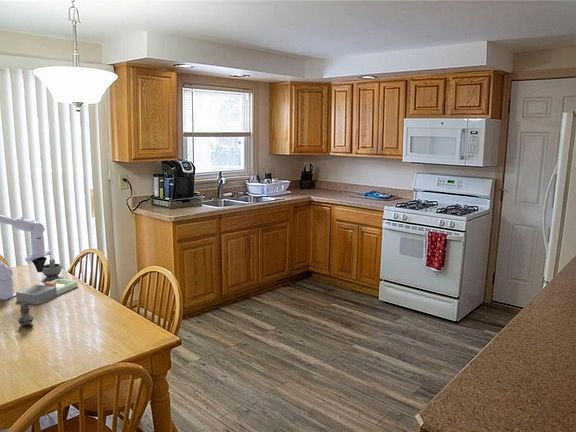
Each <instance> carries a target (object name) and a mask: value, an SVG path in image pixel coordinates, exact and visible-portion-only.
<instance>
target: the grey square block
mask: <svg viewBox="0 0 576 432" xmlns="http://www.w3.org/2000/svg"><path fill="white" fill-rule="evenodd" d="M15 293H16V296H15V297H16V302H19V303H21V302H22V301H23V300H25V301H27V302H28V304H32V305H40V304H41V303H44V302H47V301H48V300H50V299H53V298H55V297H57V296H56V287H51V286H44V284H34V285H31V286H29V287H26V288H24V289H21V290H18V291H16V292H15Z"/></svg>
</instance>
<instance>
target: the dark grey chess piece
mask: <svg viewBox="0 0 576 432" xmlns="http://www.w3.org/2000/svg"><path fill="white" fill-rule="evenodd" d="M19 303H20V310H19V312H20V317H18V318H17V322H18V324H19V325H20V326H19V327H18V329H19V330H27V329H31V328H33V327H34V324H33V321H34V316H32V315H30V307H29V303H28V302H27V301H25V300H23V301H22V302H19Z"/></svg>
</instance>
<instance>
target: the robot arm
mask: <svg viewBox="0 0 576 432" xmlns="http://www.w3.org/2000/svg"><path fill="white" fill-rule="evenodd" d="M0 223H2V224H5V225H10V226H12V227H13V229H16V230H20V231H22V232H27V233H28V232H30V244H31V245H30V246H31V254H30V255H29V256H26V257H24V260H25V262H26V263H28V262H29V263H30V262H32V263H33V265H34V267H35V269H36V272H37V273H43V267H44V265H46V264H45V263H46V261H47V256H51V255H52V250H46V249H45V238H44V237H45V236H44V232H45V227H44V225H43V224H42V223H41V222H39V221H37V220H34V219H31V220H30V219H27V218H25V217H24V216H19V217H18V216H17V217H15V218H12V217H10V216H7V215H3V214H0ZM13 273H14V272H13V269H11V268H10V267H9V266H8V265H7V264H6V263H4V262H3V261H2V260H1V259H0V300H3V301H5V300H8V299H11V298H13V297H16V292H15V291H14V280H13V275H14V274H13Z"/></svg>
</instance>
